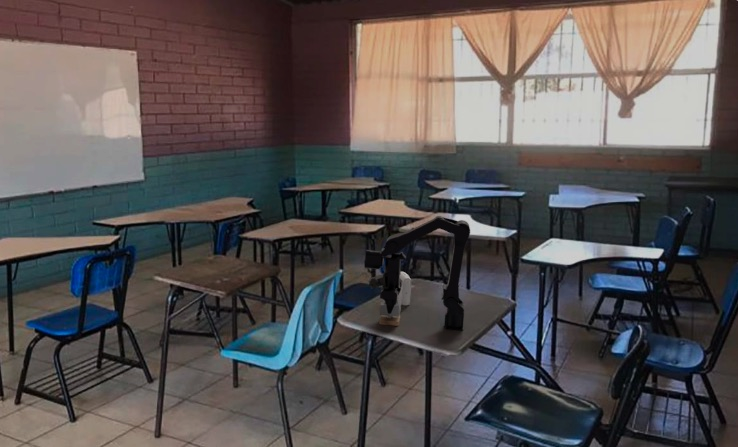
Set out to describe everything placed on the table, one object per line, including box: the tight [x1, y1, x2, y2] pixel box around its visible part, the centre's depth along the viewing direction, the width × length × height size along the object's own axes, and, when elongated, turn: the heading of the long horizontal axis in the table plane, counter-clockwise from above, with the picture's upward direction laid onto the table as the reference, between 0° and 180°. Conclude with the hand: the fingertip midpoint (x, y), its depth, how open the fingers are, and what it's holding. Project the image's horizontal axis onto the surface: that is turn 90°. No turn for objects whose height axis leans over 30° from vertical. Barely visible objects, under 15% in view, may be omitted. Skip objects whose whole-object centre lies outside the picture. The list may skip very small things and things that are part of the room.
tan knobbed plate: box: [379, 315, 401, 327], centre depth 233 cm, size 7×7×6 cm
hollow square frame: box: [379, 299, 402, 317], centre depth 233 cm, size 7×7×4 cm
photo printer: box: [397, 271, 412, 306], centre depth 256 cm, size 10×4×12 cm, turn 17°
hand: (390, 310), depth 233 cm, fingers closed on hollow square frame, 7 cm apart
